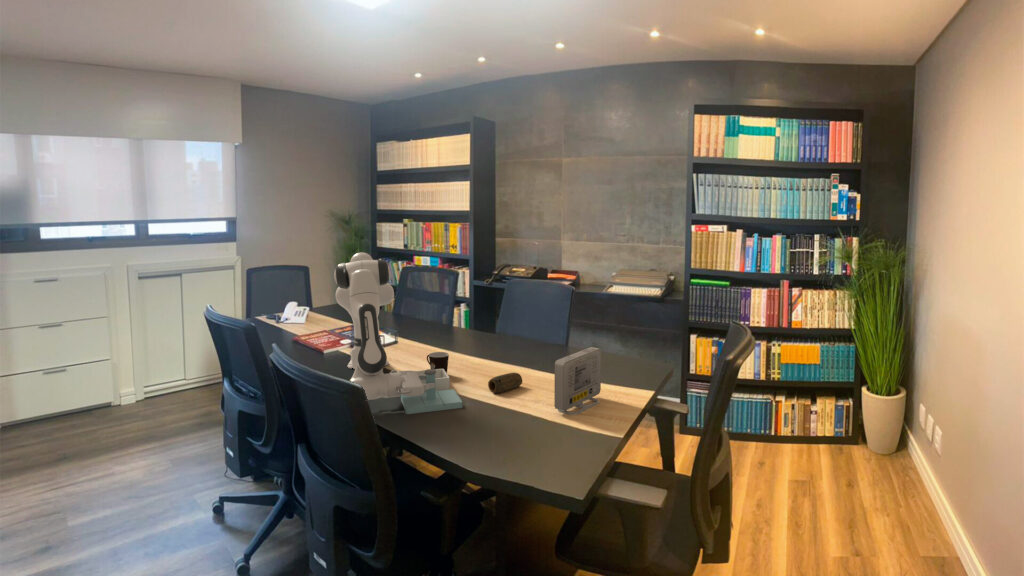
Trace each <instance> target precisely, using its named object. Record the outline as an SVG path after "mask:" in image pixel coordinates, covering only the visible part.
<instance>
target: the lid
mask: <svg viewBox="0 0 1024 576" xmlns="http://www.w3.org/2000/svg"><path fill="white" fill-rule="evenodd" d="M424 370H425V369H424ZM424 373H425V374H426V384H428V383H430V382H434V384H435V374H436V370H435V369H431V368H430V369H429V368H426V370H425V371H424ZM400 401H401V403H402V406H403V408H404V413H405V415H411V414H420V413H428V412H437V411H446V410H447V411H448V410H455V409H462V408H463V407H464V405H463V401H462V399H461V397H460V396H459V394H458V393H457V392H456V390H455V388H454V389H450V390H443V391H435V387H434V388H430V389H427V390H426V392H424V394H423V395H421V396H403V395H402V394H401V396H400ZM463 409H464V408H463Z"/></svg>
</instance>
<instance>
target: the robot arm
mask: <svg viewBox="0 0 1024 576" xmlns="http://www.w3.org/2000/svg"><path fill="white" fill-rule="evenodd" d="M391 273H392V272H391V267H390V265H389V264H388V261H386V260H384V259H373V257H372V256H371V255H370V254H369V253H367V252H357V253H355V254H353V256H352V257H351V258H350V261H349V262H341V263H339V264H337V265H336V266H335V269H334V273H333V278H334V281H335V284H336V286H338V287H337V288H336V291H335V301H336V302H337V304H338V305H339V306H340V307H342V308H343V309H344V310H346V311H347V313H348V314H349V315H350V317H351V319H352V323H353V331H354V336H353V345H354V346H353V347H352V349H351V350H350V351H349V354H350V361H349V362H348V364H347V366H346V367H348V368H347V369H352V368H353V370H354V372H353V374H352V376H351V378H350V379H349V380H348V382H349V381H351V382H354V383H357V384H359V385H361V386H362V387H363V389H364V390H365V393H366V396H367V399H368V400H367V401H370V400H377V399H380V398H385V399H389V398H390V399H391V398H397V397H400V398H401V395H402V394H403V396H421V395H423V394H424V390H427V389H430V388H434V387H435V384H434V382H430V383H428V384H422V382H421V380H426V375H421V374H419V375H417V373H416V371H417V370H399V371H398V370H396V369H395V370H394V369H393V370H391V371H390V372H389V373H384V367H385V366H388V365H390V362H389V361H388V356H387V353H386V350H385V347H384V346H383V345H382V341H381V339H382V338H381V335H380V323H379V322H380V321H379V319H378V317H379V314H380V307H382V306H386V305H390V304H391V303H392V302H393V300H394V298H395V289H394V288H393V286H392V285H391V284H390V278H391V275H392V274H391Z"/></svg>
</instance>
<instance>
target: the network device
mask: <svg viewBox="0 0 1024 576" xmlns="http://www.w3.org/2000/svg"><path fill="white" fill-rule="evenodd" d="M601 373H602V349H601V348H599V347H598V348H597V347H592V346H590V347H587V348H585V349H583V350H580V351H577V352H575V353H572V354H569V355H567V356H563V357H561V358H559V359H557V360H555V362H554V400H553V401H554V409H556V410H557V411H558V412H559V413H562V414H567V415H569V416H570V415H571V416H577V415H579V414H582V413H583V412H585V411H587V410H589V409H591V408H592V407H594V406H596V405H598V404H600V400H599V398H594V397H596V396H597V395H600V393H601V390H602V388H601V387H602V386H601V384H602V383H601V382H602V376H601ZM587 401H593V403H590V404H585V403H584V402H587ZM573 408H579V410H577V411H573V412H572V411H569V410H570V409H573Z"/></svg>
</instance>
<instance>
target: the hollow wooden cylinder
mask: <svg viewBox="0 0 1024 576" xmlns="http://www.w3.org/2000/svg"><path fill="white" fill-rule="evenodd" d="M522 384H523V378H522V376H521V374H520V373H518V372H509V373H504V374H500V375H496V376H494V377H492V378H491V379H489V380H488V383H487V387H488V390H489V391H490V392H491V393H493V394H500V393H503V392H507V391H510V390H513V389H516V388H517V387H519V386H522Z"/></svg>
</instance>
